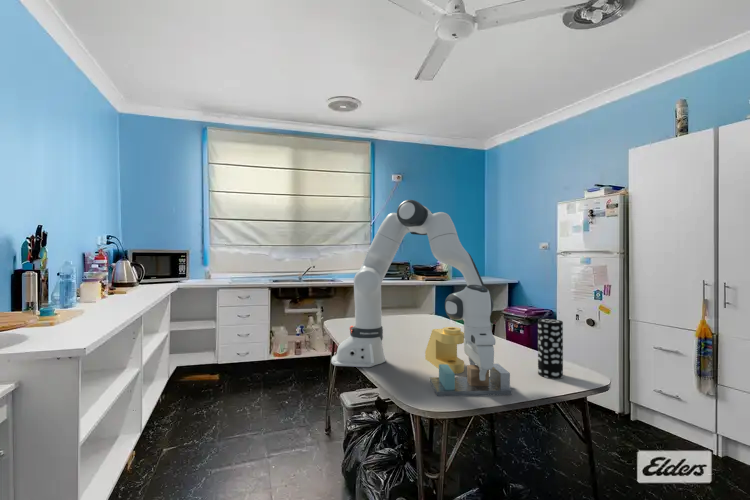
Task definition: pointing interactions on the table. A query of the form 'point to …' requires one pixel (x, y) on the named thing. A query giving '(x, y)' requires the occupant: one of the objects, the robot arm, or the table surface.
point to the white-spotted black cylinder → (550, 348)
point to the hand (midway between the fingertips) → (477, 374)
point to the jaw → (447, 377)
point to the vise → (497, 386)
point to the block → (476, 376)
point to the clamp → (445, 348)
